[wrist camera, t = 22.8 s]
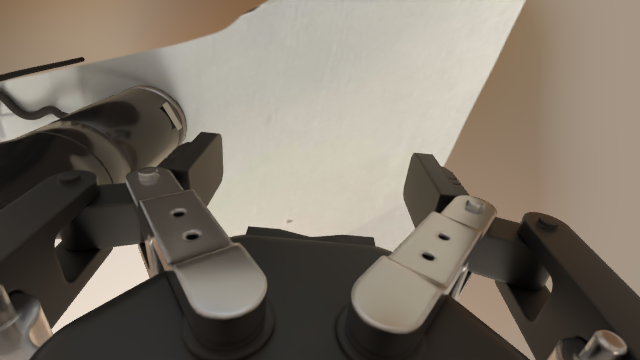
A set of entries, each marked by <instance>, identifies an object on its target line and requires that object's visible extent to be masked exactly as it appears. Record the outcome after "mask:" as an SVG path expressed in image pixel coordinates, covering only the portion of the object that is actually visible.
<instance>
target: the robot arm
mask: <svg viewBox="0 0 640 360" xmlns="http://www.w3.org/2000/svg"><path fill="white" fill-rule="evenodd" d="M84 60H85V59H84V58H83V57H79V58H75V59H70V60H66V61H61V62H56V63H51V64H46V65H41V66H37V67H31V68H27V69H22V70H18V71H14V72H9V73H6V74H1V75H0V82H1V81H5V80H8V79H12V78H16V77H19V76H23V75H28V74H32V73H36V72H40V71H45V70H49V69H53V68H58V67H63V66H67V65H71V64H76V63H80V62H83V61H84ZM0 100H1V101H2V102H3V103H4V104H5V105H6V106H7V107H8V108H9V109H10V110H11V111H12V112H13V113H14V114H16V115H17V116H19V117H21V118H23V119H27V120H36V119H39V118H42V117H43V116H45V115H47V114H50V113H52V114H54V115H55V116H56V117H58V118H60V119H59V120H57V121H54V122H52V123H50V124H48V125H45V126H43V127H41V128H38V129H36V130H34V131H31V132H29V133H27V134H25V135H22V136H20V137H17V138H15V139H12V140H9V141H4V142H0V360H530V359H528V358H527V357H526V356H525V355H524V354H523V353H521V352H520V351H519V350H518V349H516V348H515V347H514V346H513V345H511V344H510V343H509V342H508V341H506V340H505V339H504V338H502V337H501V336H500V335H499V334H497V333H496V332H495V331H494V330H492V329H491V328H490V327H489V326H487V325H486V324H485V323H484V322H482V321H481V320H480V319H479V318H477V317H476V316H475V315H474V314H472V313H471V312H470V311H469V310H467V309H466V308H465V307H464V306H462V305H461V304H460V303H459V302H457V301H458V299H459V297H460V296H461V294H462V292H463V290H464V288H465V287H466V285H467V283H468V281H469V279H470V278H471V275H472V273H475V274H478V275H482V276H484V277H488V278H491V279H494V280H495V283H496V285H497V287H498V289H499V291H500V293H501V295H502V297H503V299H504V300H505V302H506V304H507V306H508V308H509V310H510V312H511V314H512V316H513V317H514V319H515V321H516V323H517V325H518V327H519V329H520V331H521V333H522V334H523V336H524V338H525V340H526V342H527V344H528V346H529V347H530V349H531V351H532V353H533V355H534V357H535V359H536V360H640V297H639V296H638V295H637V294H636V293H635V292H634V291H633V290H632V289H631V288H630V287H629V286H628V285H627V284H626V283H625V282H624V281H623V280H622V279H621V278H620V277H619V276H618V275H617V274H616V273H615V272H614V271H613V270H612V269H611V268H610V267H609V266H608V265H607V264H606V263H605V262H604V261H603V260H602V259H601V258H600V257H599V256H598V255H597V254H596V253H595V252H594V251H593V250H592V249H591V248H590V247H589V246H588V245H587V244H586V243H585V242H584V241H583V240H582V239H581V238H580V237H579V236H578V235H577V234H576V233H575V232H574V231H573V230H572V229H571V228H570V227H569V226H568V225H567V224H565V223H564V222H562V221H560V220H558V219H557V218H554V217H552V216H549V215H546V214H542V213H537V212H529V213H526V214H525V215H524V216H523V219H522V221H521V223H517V222H513V221H509V220H505V219H501V218H498V217H496V214H497V210H496V209H495V207H494V206H493V205H491V204H490V203H489V202H487V201H485V200H483V199H480V198H477V197H473V196H470V195H469V194H468V193H467V191H466V190H465V189H464V187H463V186H461V183H460V182H459V181H458V180H457V178H456V177H455V175H454V174H453V173H452V172H451V171H449V170H448V169H446V168H444V167H441V166H440V165H439V163H438V162H437V160H436V159H435V157H434V156H433V155H432V154H422V153H414V154H413V155H412V157H411V161H410V165H409V169H408V173H407V177H406V181H405V185H404V192H403V196H404V201H405V204H406V206H407V209H408V211H409V214H410V216H411V219H412V221H413V224H414V226H415V230H414V231H413V232H412V233H411V234H410V235H409V236H408V237H407V238H406V239H405V240H404V241H403V242H402V243H401V244H400V245H399V246H398V247H397V248H396V249H395V250H394V251H393V252H391V251H388V250H386V249H383V248H380V247H377V246H375V242H374V237H362V236H351V235H334V236H321V237H308V236H304V235H300V234H296V233H292V232H288V231H285V230H281V229H271V228H260V227H249V226H248V229H247V232H246V235H239V236H233V237H228V235H227V234H226V233H225V231H224V230H223V229H222V227H221V226H220V225H219V223H218V222H217V221H216V219H215V218H214V216H213V215H212V214H211V212H210V211H209V210H208V208H207V206H208V204H209V202H210V200H211V199H212V197H213V195H214V194H215V192H216V190H217V189H218V187H219V185H220V184H221V181H222V177H223V152H222V137H221V135H220V134H217V133H207V132H201V133H200V134H199V135H198V136H197V137H196V138H195V139H194V140H193V141H192V142H187V143H184V144H182V142H183V141H184V138H185V135H186V120H185V117H184V114H183V112H182V110H181V108H180V107H179V105H178V104H177V103H176V102H175V101H174V100H173V99H172V98H171V97H170V96H169V95H167V94H166V93H164V92H163V91H161V90H159V89H156V88H153V87H149V86H135V87H132V88H129V89H127V90H124V91H123V92H121V93H120V94H117V95H112V96H110V97H108V98H105V99H103V100H101V101H98V102H96V103H93V104H91V105H88V106H86V107H84V108H81V109H79V110H77V111H75V112H72V113H70V114H68V113H65V112H62V111H61V110H59V109H58V108H56V107H53V106H47V107H43V108H41V109H39V110H38V111H36V112H33V113H27V112H25V111H23V110H22V109H20V108H19V107H18V106H17V105H16V104H15V103H14V102H13V101H12V100H11V99H10V98H9V97H8V96H7V95H6V94H4V93H3V92H2V91H0ZM181 144H182V145H181ZM166 157H167V158H166ZM55 239H62V241H61V242H60V243H59V244H58V245H57V246H56V247H54V243H55ZM132 244H138V247H139V251H140V253H141V256H142V259H143V261H144V264H145V266H146V269H147V272H148V274H149V277H150V279H148V280H146V281H145V282H142V283H140V284H139V285H137V286H135V287H134V288H132V289H130V290H128V291H126V292H124V293H123V294H121V295H119V296H117V297H115V298H113V299H112V300H110V301H108V302H106V303H104V304H103V305H101V306H99V307H97V308H95V309H94V310H92V311H90V312H88V313H86V314H85V315H83V316H81V317H79V318H78V319H76V320H74V321H72V322H71V323H69V324H67V325H66V326H64V327H63V328H61V329H60V330H59V331H57V332H56V333H55V334H53V333H52V330H51V329H52V328H53V326H54V325H55V324H56V323H57V321H58V320H59V319H60V317H61V316H62V315H63V313H64V312H65V311H66V310H67V308H68V307H69V306H70V304H71V303H72V302H73V300H74V299H75V298H76V297H77V295H78V294H79V293H80V291H81V290H82V289H83V287H84V286H85V285H86V284H87V282H88V281H89V280H90V278H91V277H92V276H93V275H94V273H95V272H96V271H97V269H98V268H99V267H100V265H101V264H102V263H103V262H104V260H105V259H106V258H107V256H108V255H109V254H110V252H111V251H112V249H113V247H116V246H124V245H132ZM549 276H551V278H552V283H553V288H552V292H551V293H550V292H549V290H548V288H547V287H546V286H545V283H546V281H547V280H548V278H549Z"/></svg>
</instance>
